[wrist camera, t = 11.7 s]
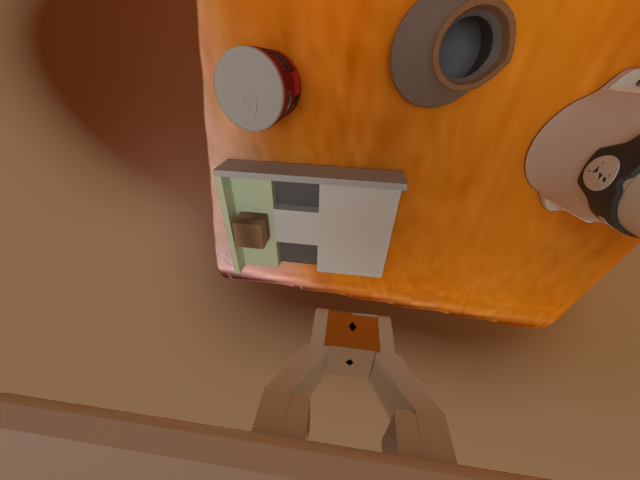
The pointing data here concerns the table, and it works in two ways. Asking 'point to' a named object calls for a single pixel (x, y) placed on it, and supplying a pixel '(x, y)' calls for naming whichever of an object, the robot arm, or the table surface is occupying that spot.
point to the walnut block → (251, 230)
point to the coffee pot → (450, 48)
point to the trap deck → (313, 213)
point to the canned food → (256, 86)
